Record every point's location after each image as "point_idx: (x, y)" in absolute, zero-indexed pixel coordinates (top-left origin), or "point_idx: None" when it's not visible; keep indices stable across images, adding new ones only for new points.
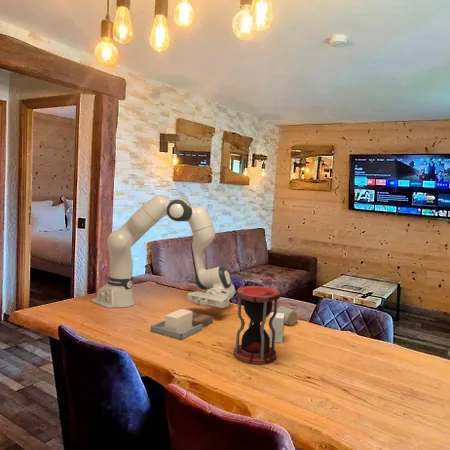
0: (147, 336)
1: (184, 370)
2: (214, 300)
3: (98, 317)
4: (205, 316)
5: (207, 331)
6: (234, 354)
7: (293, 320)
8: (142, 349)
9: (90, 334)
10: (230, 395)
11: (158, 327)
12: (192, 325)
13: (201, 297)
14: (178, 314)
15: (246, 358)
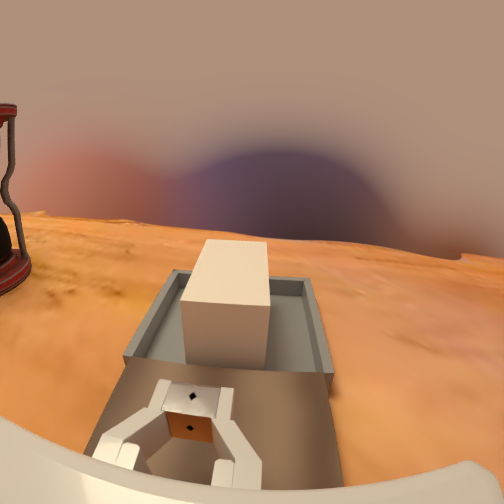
0: None
1: (124, 227)
2: (10, 424)
3: (490, 298)
4: None
5: (100, 368)
6: (30, 261)
7: None
8: None
9: (385, 251)
10: (61, 217)
11: (278, 278)
12: None
13: (214, 486)
14: (225, 257)
15: (15, 249)
